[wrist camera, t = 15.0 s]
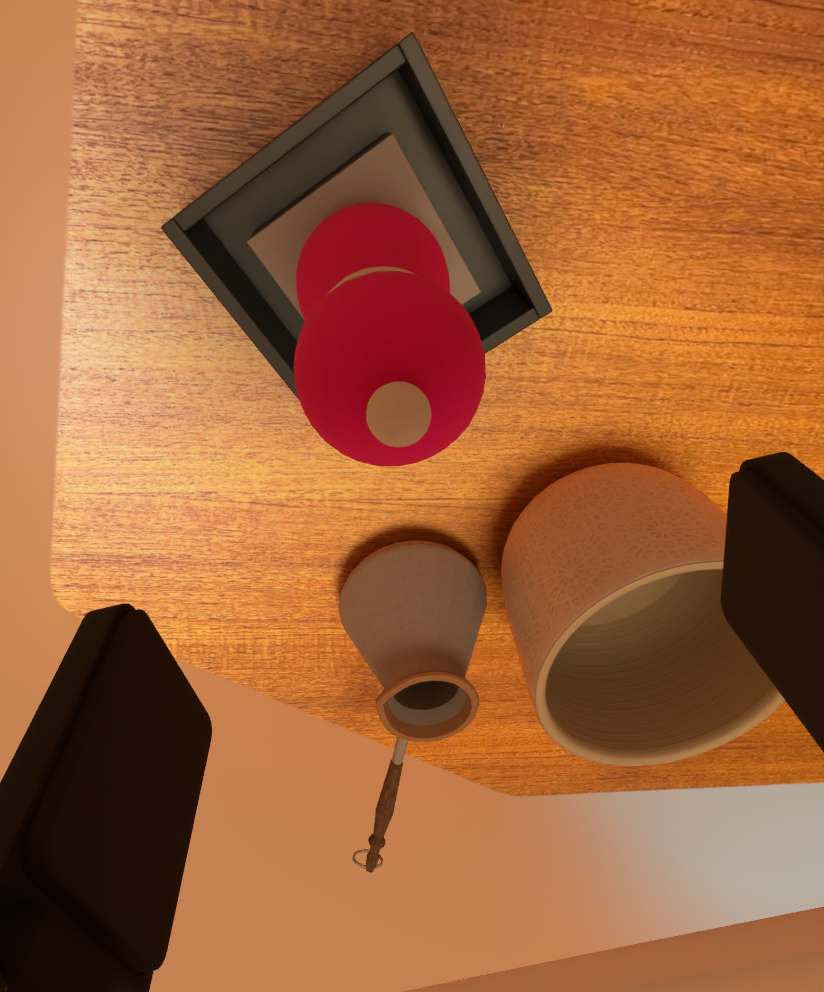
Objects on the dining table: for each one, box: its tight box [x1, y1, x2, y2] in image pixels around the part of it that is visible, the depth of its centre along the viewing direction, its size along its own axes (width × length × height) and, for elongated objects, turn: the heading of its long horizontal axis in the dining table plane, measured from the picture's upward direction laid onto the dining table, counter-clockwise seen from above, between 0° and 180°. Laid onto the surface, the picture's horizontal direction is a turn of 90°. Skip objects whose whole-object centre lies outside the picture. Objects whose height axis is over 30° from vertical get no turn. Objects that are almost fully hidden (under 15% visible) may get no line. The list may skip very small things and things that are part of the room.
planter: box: [501, 463, 785, 766], centre depth 43 cm, size 17×17×15 cm
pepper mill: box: [294, 203, 486, 466], centre depth 25 cm, size 7×7×20 cm
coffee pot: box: [339, 540, 487, 872], centre depth 46 cm, size 21×12×15 cm, turn 163°
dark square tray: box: [161, 32, 552, 399], centre depth 35 cm, size 15×15×6 cm
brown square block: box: [247, 132, 481, 321], centre depth 35 cm, size 9×9×4 cm
